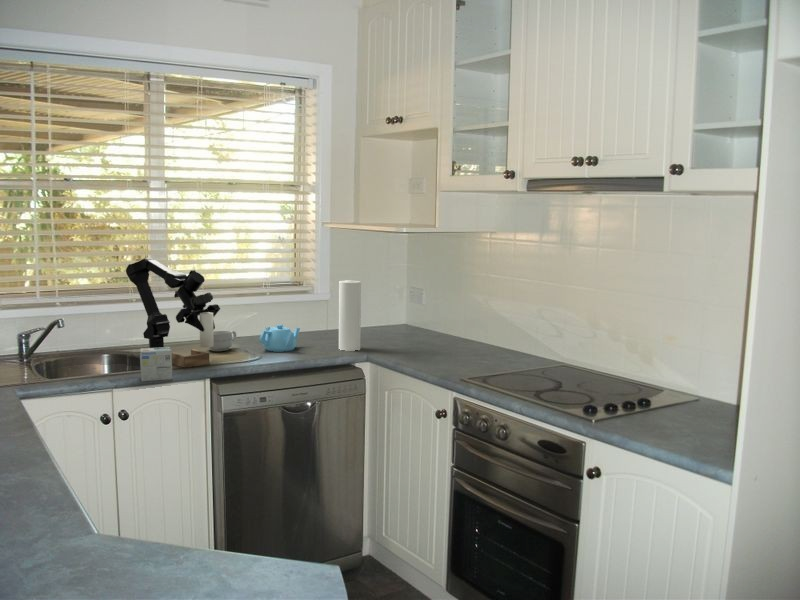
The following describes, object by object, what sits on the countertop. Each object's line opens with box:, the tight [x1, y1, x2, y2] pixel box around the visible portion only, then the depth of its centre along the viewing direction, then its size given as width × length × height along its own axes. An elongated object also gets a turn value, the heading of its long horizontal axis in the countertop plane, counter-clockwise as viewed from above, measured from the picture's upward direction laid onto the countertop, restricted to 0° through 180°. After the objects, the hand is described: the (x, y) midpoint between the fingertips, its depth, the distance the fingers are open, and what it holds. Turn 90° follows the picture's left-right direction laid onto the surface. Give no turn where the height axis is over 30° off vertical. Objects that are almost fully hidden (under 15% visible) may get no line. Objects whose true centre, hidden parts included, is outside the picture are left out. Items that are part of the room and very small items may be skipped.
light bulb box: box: [139, 346, 173, 382], centre depth 271 cm, size 11×7×11 cm, turn 111°
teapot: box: [258, 324, 301, 353], centre depth 328 cm, size 15×15×11 cm
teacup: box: [207, 330, 237, 352], centre depth 325 cm, size 14×11×8 cm
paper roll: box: [199, 312, 214, 348], centre depth 300 cm, size 5×5×13 cm
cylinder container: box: [338, 279, 362, 352], centre depth 330 cm, size 9×9×30 cm
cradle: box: [171, 348, 210, 368], centre depth 297 cm, size 12×10×4 cm
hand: (208, 329), depth 299 cm, fingers closed on paper roll, 5 cm apart
